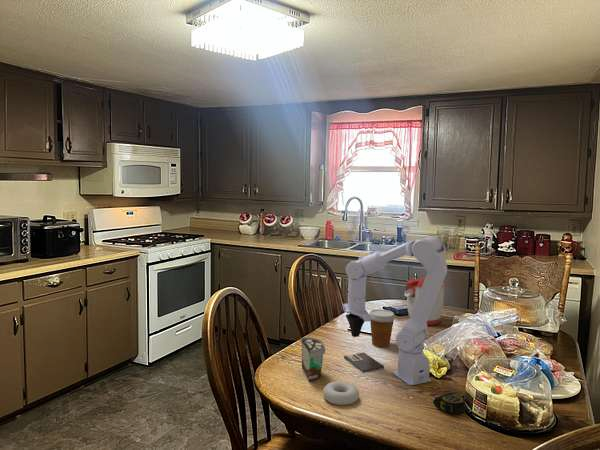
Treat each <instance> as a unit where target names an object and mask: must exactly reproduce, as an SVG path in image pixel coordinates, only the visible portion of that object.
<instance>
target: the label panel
mask: <svg viewBox="0 0 600 450" xmlns="http://www.w3.org/2000/svg"><path fill="white" fill-rule="evenodd" d="M343 359H344V360H345V361H347V362H348V363H350V365H352V366H354V367H355V368H356V369H358V371H360V372H362V373H366V372H372V371H377V370H378V371H379V370H382V369H385V366H384V365H383V364H382V363H380V362H379V361H377V360H376V359H375V358H373V357H372V356H370V355H368V354H367V353H366V352H359V353H353V354H346V355H343Z"/></svg>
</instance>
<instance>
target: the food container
mask: <svg viewBox="0 0 600 450" xmlns="http://www.w3.org/2000/svg"><path fill="white" fill-rule="evenodd" d="M300 344H301V370H302V372H303V374H304V376H305V378H306V379H307V381H308V382H313V381H314V382H315V381H317V380H319V379H320V378H321V376H322V370H323V369H322V368H323V361H324V360H323V359H324V354H325V353H326V352H327V351H326V346H325V344H324V341H322V340H320V339H318V338H314V337H310V336H309V337H307V336H303V337H301V340H300Z"/></svg>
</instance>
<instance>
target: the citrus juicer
mask: <svg viewBox="0 0 600 450" xmlns="http://www.w3.org/2000/svg"><path fill="white" fill-rule="evenodd" d="M425 277H426V275H425V276H423V277H422V278H411V279H409V280H407V281H406V283H407V284H406V285H407V286H406V291H404V292H403V296H405V297H407V298H406V305H407V314H408V318H410V315H411V313H412V310H413V308H414V305H415V303H416V300H417V298H418V295H419V293H420V290H421V288H422V285H423V282H424V280H425ZM445 287H446V284H445V283H444V282H443V283H442V286H441V288H440V291H439V293H438V296H437V298H436V301H435V303H434V305H433V308H432V310H431V313H430V315H429V318H428V320H427V326H431V325H436V324H437V325H438V323H439V321H440V319H441V317H442V313H443V309H444V301H445V300H444V299H445Z"/></svg>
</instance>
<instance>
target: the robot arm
mask: <svg viewBox="0 0 600 450" xmlns="http://www.w3.org/2000/svg"><path fill="white" fill-rule="evenodd" d="M446 252H447V248H446V246H445V245H444V242H443V241H442V240H441V239H440V238H439V237H437V236H435V235H430V236H426V237H424V238H417V239H415V240H411V241H406V242H404V243H401V244H399V245H398V246H395V247H393V248H391V249H389V250H387V251H385V252H382V251H380V250H377V251H376V250H373V251H369V254H368V255H365V256H360V257H358V259H357V260H351V261H350V262H349V263H348V264H346V266H345V273H346V276H347V277H348V284H347V285H348V289H347V291H348V292H347V303H343V304H342V310H344V313H346V314H345V318H346V319H347V322H348V325H349V328H350V334H351V337H352V338H357V337H360V335H361V331H362V328H363V325H364V324H365V323H366V322H370V321H371V315H369V314H370V313H369V312H368V311H367V309H366V297H367V296H366V292H367V291H366V290H367V277H368V275H370V274H373V273H375V272H378V271H381V270H382V269H385V268H386V267H387V264H388V263H389V262H391V261H394V260H398V259H399V258H402V257H404V256H405V257H406V256H408V257H410V258H412V257H414V258H415V259H416V260H417V261H418V262H419V264H421V265H422V266H423V268H424V270H425V271H426V275H425V276H426V277H425V276H424V277H425V280H424V282H423V285H422V288H421V290H420V293H419V295H418V298H417V300H416V303H415V305H414V308H413V310H412V313H411V315H410V317H408V319H407V321H406V322H405V324H404V325H403V327H402V330H400V331H399V332H398V333H397V334H396V337H395V343H396V346H397V347H398V358H397V359H398V361H397V370H393V371H391V373H392V375H394V376H395V377H396V378H398V379H400V380H401V381H403V382H404V383H405V384H407V385H408V386H415V385H419V384H425V383H429V382H431V381H432V379H431V378H430V365H431V363H430V359H429V358H428V356H427V355H426V354H425V353H424V346H423V343H425V341H426V340H427V328H428V325H427V320H428V318H429V315H430V313H431V310H432V308H433V305H434V303H435V301H436V298H437V296H438V293H439V291H440V288H441V286H442V283H444V281H445V278H446V276H447V274H448V265H447V257H446Z"/></svg>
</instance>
